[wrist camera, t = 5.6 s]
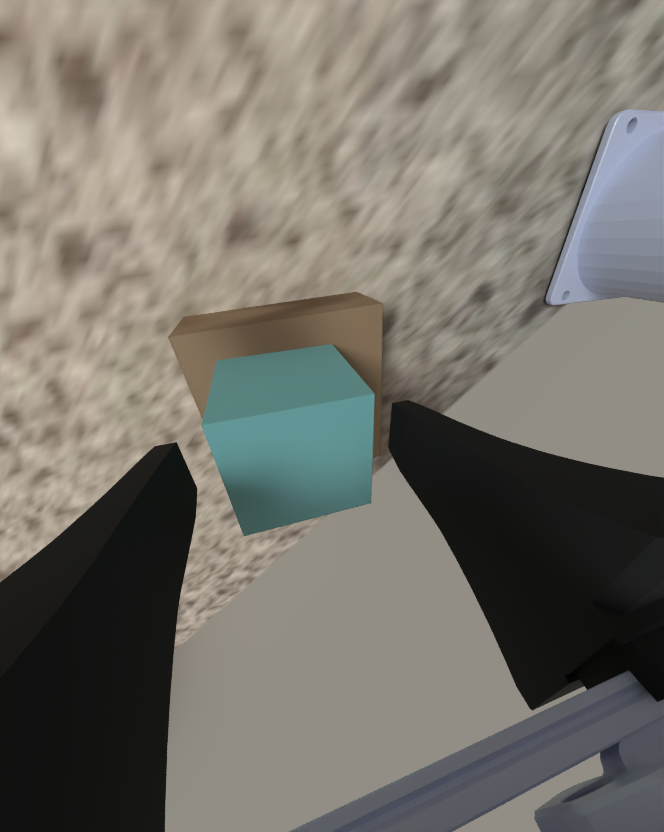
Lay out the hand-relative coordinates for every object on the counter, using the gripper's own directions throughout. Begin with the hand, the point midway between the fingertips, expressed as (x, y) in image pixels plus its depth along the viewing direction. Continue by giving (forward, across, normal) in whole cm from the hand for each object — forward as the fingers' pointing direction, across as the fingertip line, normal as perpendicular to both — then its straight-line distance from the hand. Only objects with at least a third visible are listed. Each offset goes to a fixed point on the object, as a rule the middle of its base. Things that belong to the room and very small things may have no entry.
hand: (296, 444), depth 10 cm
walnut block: (+7, -1, +1) cm, 7 cm away
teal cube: (+3, 0, 0) cm, 3 cm away
